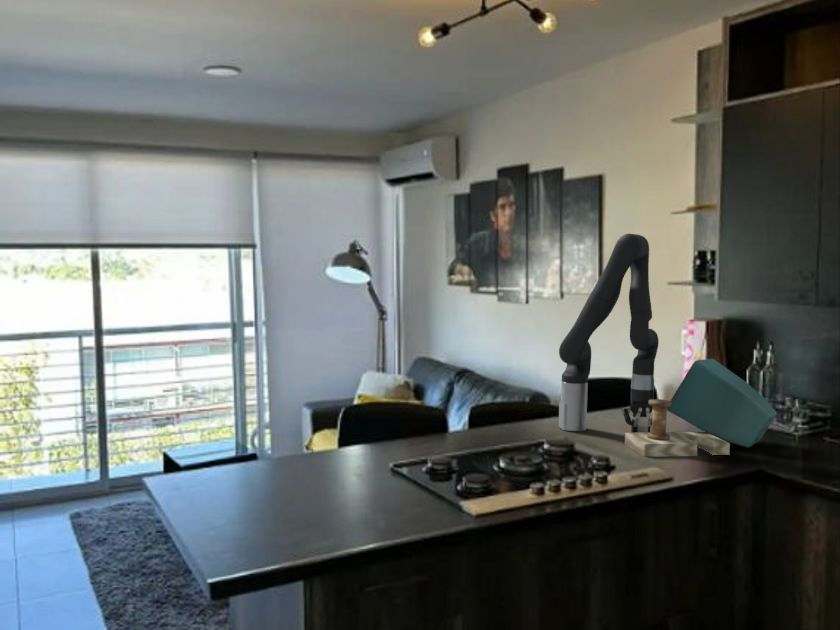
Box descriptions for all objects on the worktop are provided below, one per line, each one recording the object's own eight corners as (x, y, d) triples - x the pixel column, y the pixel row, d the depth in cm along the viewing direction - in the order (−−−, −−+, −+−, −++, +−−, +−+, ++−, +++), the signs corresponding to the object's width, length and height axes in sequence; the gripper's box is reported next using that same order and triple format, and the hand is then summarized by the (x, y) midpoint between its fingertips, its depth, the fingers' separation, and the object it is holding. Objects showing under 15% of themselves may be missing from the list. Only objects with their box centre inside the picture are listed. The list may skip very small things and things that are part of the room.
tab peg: (637, 440, 256) (638, 417, 255) (633, 438, 259) (634, 415, 258) (647, 440, 256) (648, 417, 255) (643, 438, 259) (644, 415, 259)
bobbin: (652, 440, 239) (654, 403, 239) (643, 435, 246) (645, 399, 246) (673, 440, 240) (675, 403, 239) (664, 435, 247) (665, 399, 246)
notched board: (644, 456, 235) (644, 443, 234) (624, 444, 251) (625, 432, 250) (729, 455, 238) (729, 443, 238) (704, 443, 254) (705, 431, 253)
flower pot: (772, 407, 237) (693, 360, 252) (738, 459, 243) (664, 409, 258) (787, 402, 252) (713, 358, 268) (755, 451, 258) (684, 404, 274)
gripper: (657, 385, 261) (655, 434, 262) (618, 385, 259) (616, 434, 260) (667, 389, 253) (664, 439, 255) (626, 389, 252) (624, 439, 253)
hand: (640, 436), depth 257 cm, fingers closed on tab peg, 3 cm apart
